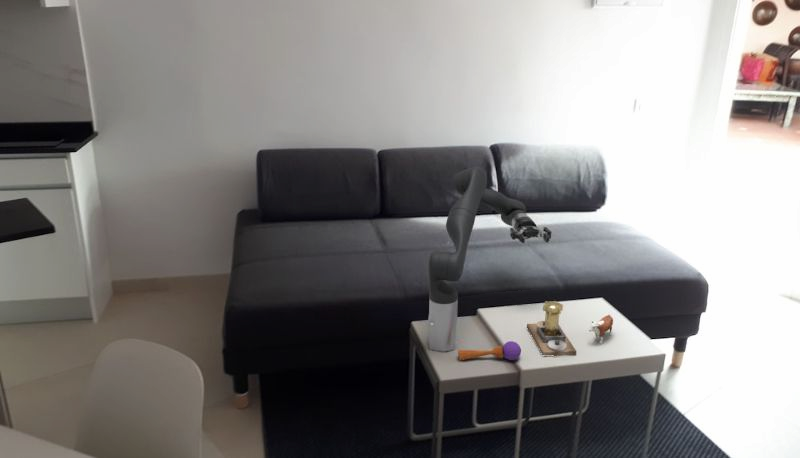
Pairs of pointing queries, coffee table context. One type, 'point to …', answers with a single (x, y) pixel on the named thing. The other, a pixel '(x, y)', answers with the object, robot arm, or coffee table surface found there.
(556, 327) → the brass pinion
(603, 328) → the bull figurine
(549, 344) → the board
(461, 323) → the coffee table surface
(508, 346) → the kendama
